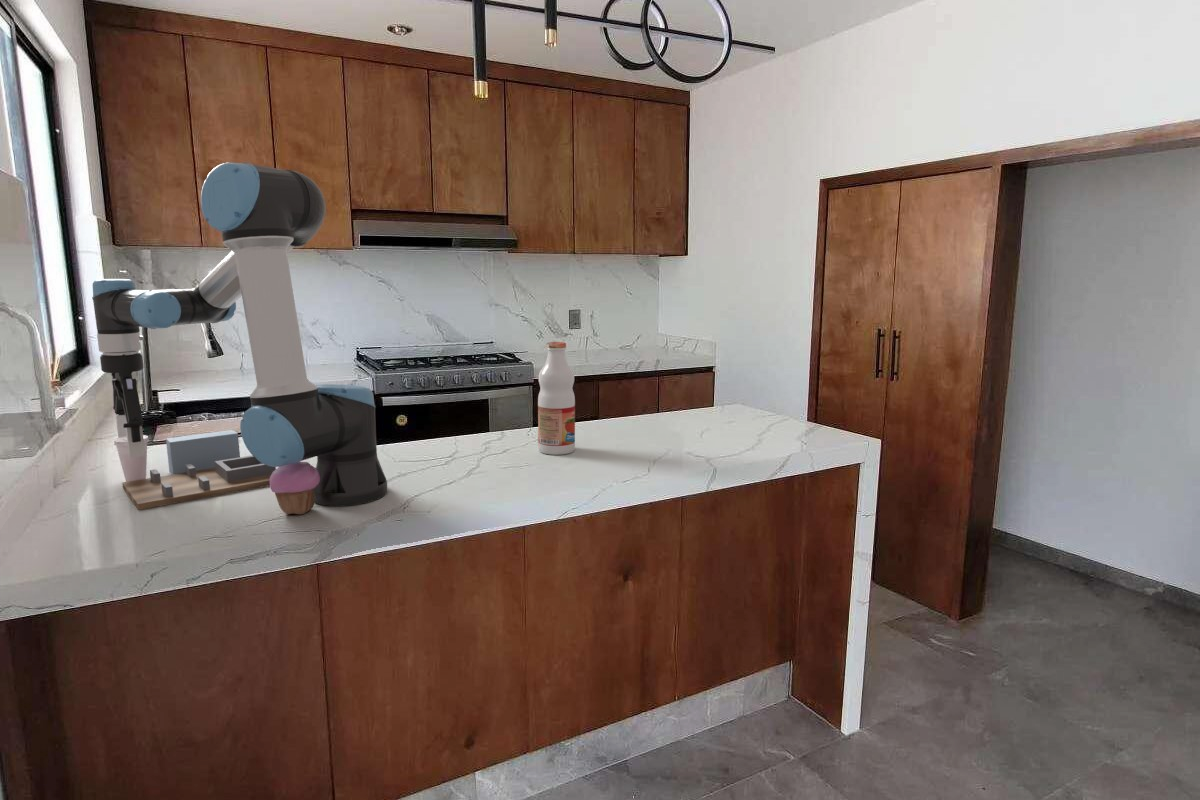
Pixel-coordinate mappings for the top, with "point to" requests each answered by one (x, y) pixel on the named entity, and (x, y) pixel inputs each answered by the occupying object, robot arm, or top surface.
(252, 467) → the frame
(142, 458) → the smoothie
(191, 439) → the light blue rectangular block
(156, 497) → the jig board
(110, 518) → the top surface
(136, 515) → the top surface
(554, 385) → the fruit juice
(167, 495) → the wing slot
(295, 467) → the cupcake
